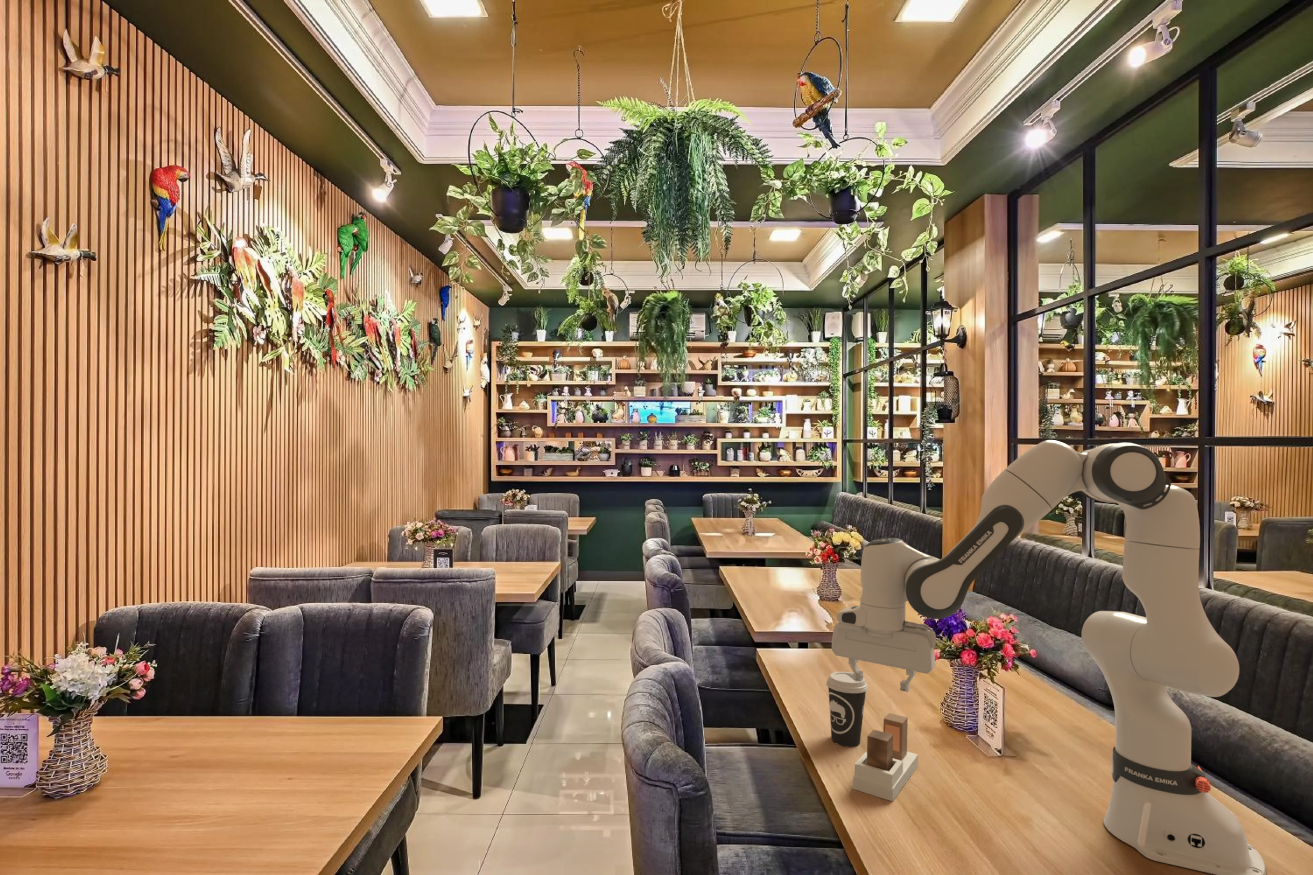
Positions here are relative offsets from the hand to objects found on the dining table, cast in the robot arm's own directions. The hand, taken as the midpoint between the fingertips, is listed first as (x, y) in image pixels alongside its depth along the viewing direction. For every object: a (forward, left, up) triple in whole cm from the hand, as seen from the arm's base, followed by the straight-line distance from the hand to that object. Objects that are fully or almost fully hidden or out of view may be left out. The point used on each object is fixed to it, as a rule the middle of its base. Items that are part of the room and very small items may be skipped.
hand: (881, 685), depth 137 cm
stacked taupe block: (0, 0, -18) cm, 18 cm away
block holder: (0, -5, -21) cm, 21 cm away
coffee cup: (+13, -17, -21) cm, 30 cm away
